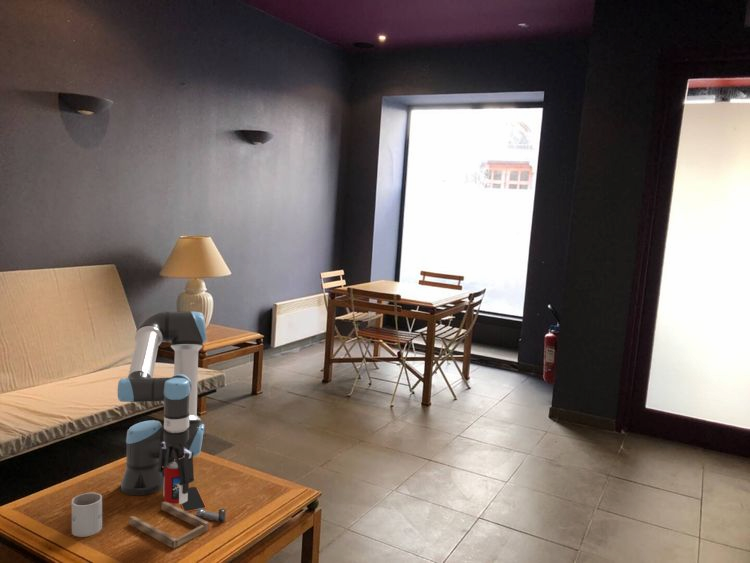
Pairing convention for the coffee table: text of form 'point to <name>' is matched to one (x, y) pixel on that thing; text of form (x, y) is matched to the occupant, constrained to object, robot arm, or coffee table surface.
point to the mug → (86, 514)
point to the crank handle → (211, 514)
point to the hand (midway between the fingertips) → (175, 498)
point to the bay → (166, 538)
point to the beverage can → (171, 483)
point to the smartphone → (193, 501)
